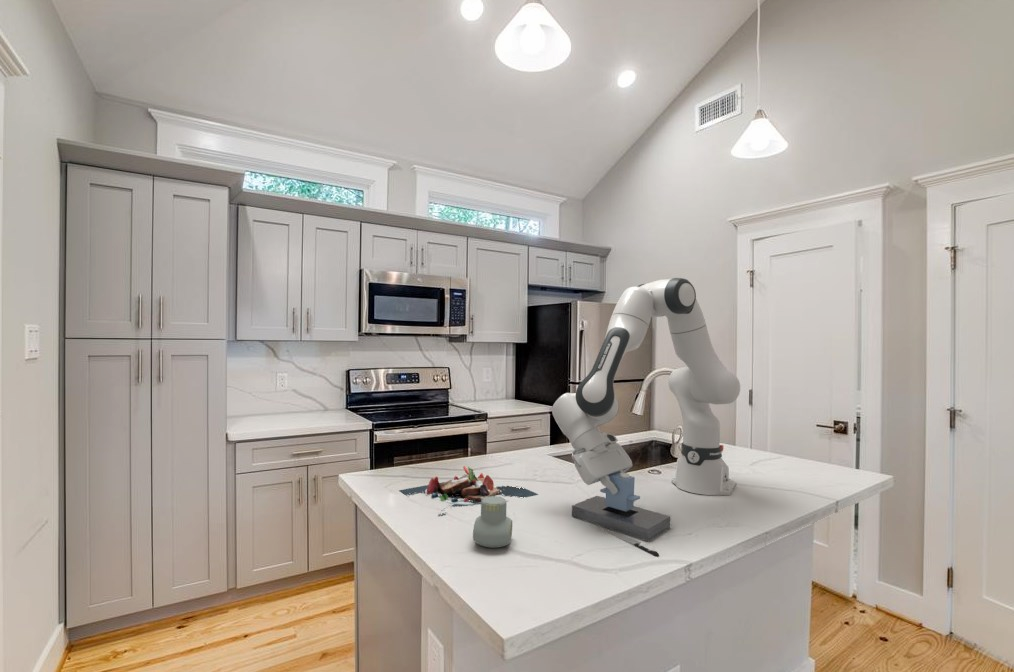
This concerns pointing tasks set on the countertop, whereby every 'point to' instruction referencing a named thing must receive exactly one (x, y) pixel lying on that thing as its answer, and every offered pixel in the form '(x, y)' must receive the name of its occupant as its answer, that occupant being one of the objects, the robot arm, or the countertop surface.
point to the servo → (621, 492)
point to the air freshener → (493, 523)
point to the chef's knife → (632, 542)
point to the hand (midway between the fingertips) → (622, 490)
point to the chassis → (622, 518)
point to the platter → (466, 489)
